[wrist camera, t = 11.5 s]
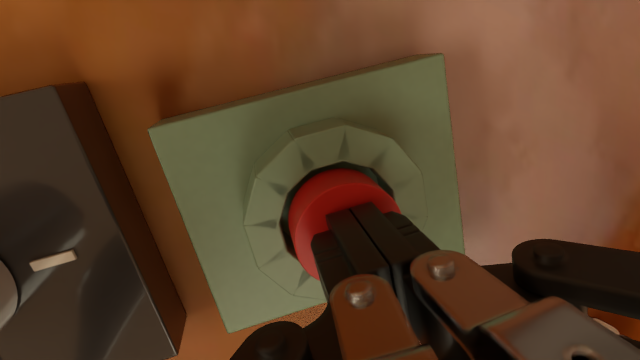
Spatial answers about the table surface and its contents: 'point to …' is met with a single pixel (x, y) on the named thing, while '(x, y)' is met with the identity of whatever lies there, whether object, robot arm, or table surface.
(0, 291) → the stove knob
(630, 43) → the table surface
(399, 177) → the block
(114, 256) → the hob panel
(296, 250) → the power button
